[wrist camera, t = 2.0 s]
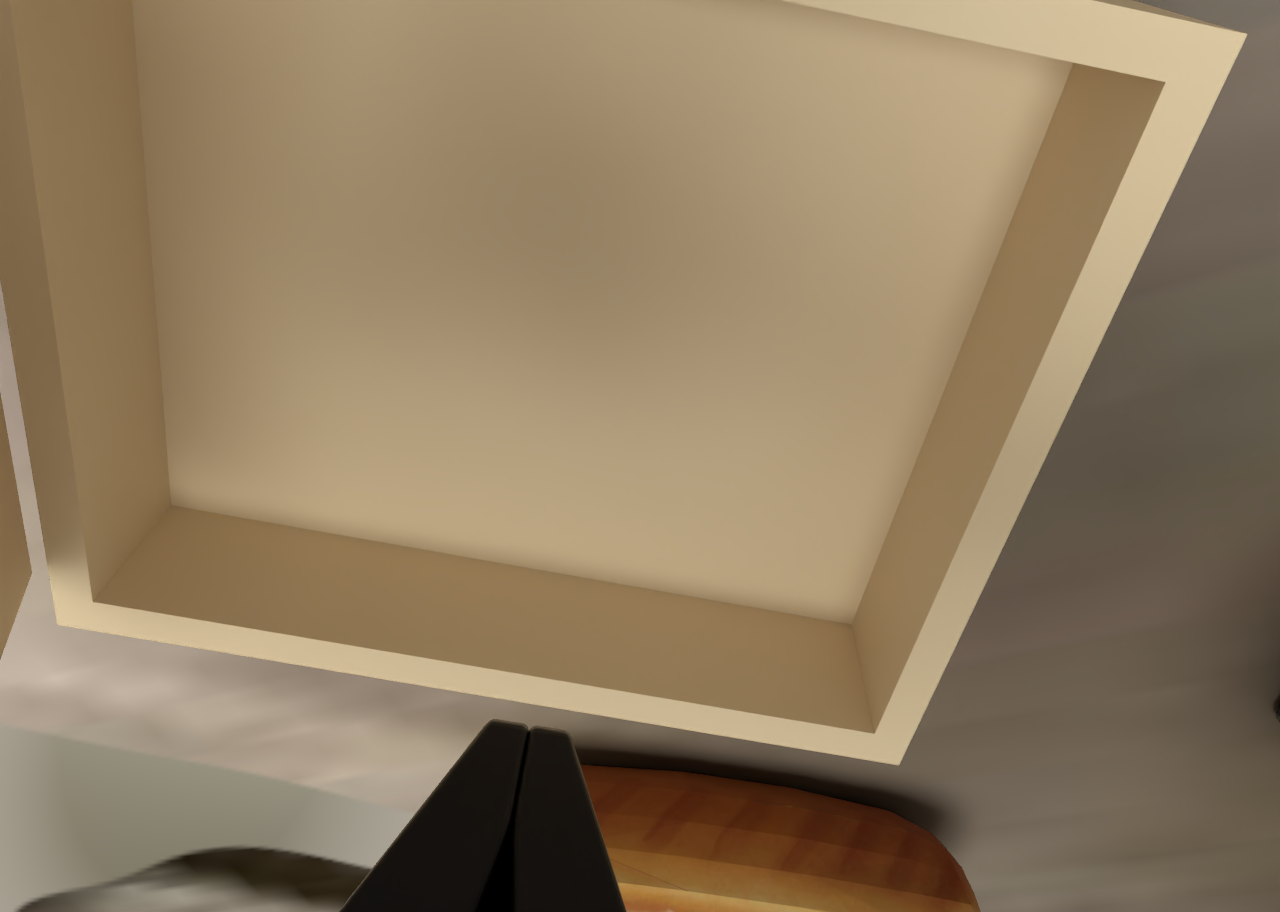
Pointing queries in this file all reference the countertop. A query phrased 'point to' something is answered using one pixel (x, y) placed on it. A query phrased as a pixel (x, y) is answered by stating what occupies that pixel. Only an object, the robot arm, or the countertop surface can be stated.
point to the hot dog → (764, 848)
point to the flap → (10, 541)
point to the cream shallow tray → (572, 328)
